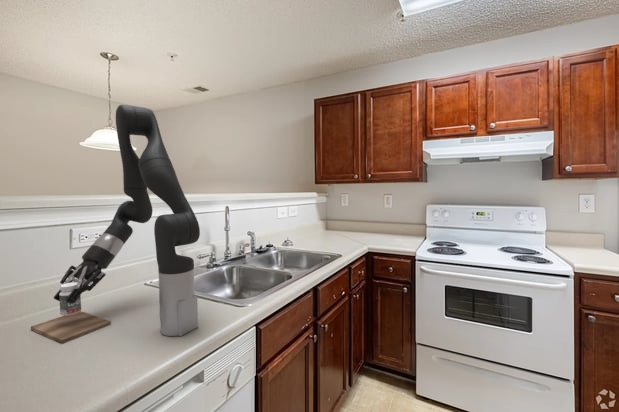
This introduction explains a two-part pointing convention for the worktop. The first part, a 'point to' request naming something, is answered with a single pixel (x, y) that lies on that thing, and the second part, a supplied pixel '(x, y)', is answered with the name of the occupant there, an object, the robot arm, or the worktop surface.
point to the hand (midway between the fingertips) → (62, 301)
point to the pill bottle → (65, 306)
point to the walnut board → (70, 326)
